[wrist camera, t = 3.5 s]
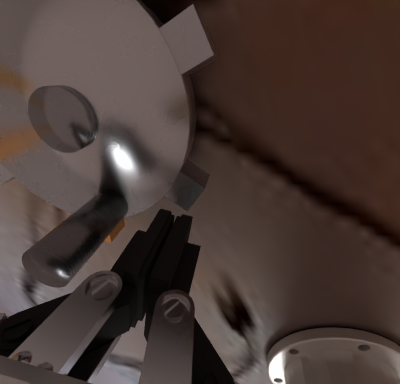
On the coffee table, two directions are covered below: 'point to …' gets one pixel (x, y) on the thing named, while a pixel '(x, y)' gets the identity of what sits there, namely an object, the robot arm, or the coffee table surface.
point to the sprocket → (97, 117)
